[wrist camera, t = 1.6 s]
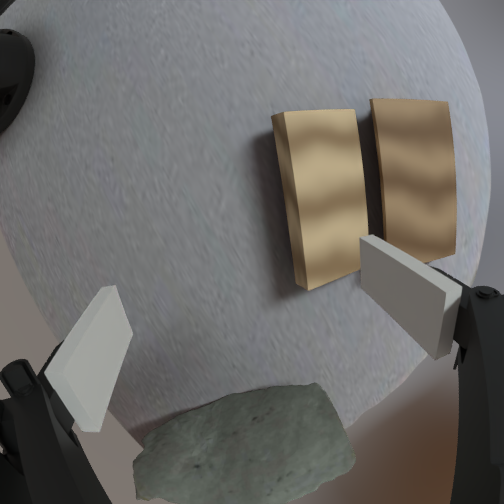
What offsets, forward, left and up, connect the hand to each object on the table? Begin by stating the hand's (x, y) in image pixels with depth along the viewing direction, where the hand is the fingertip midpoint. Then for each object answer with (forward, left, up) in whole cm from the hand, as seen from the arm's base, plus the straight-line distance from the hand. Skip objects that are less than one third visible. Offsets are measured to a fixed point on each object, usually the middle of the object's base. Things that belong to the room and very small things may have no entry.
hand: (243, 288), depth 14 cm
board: (0, +23, -20) cm, 31 cm away
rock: (+26, -5, -20) cm, 33 cm away
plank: (0, +11, -20) cm, 23 cm away
